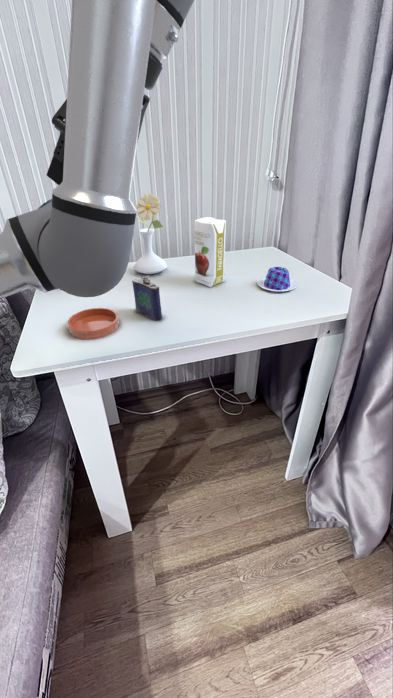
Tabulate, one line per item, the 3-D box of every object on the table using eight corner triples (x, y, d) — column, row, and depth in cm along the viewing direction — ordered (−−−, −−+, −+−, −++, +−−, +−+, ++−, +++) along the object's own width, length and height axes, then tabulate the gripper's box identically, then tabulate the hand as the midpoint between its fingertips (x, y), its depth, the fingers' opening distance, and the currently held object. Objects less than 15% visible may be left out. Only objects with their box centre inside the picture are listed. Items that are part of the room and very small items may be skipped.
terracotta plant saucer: (95, 344, 74) (93, 336, 73) (59, 331, 79) (57, 323, 78) (128, 321, 83) (127, 314, 82) (94, 311, 88) (93, 304, 87)
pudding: (304, 288, 98) (307, 271, 96) (274, 296, 94) (276, 279, 91) (278, 275, 107) (280, 260, 104) (249, 283, 102) (250, 267, 100)
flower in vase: (127, 271, 113) (116, 193, 98) (152, 263, 119) (145, 188, 105) (152, 280, 105) (144, 197, 91) (177, 271, 112) (173, 192, 98)
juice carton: (208, 275, 109) (208, 215, 98) (227, 282, 103) (229, 219, 93) (191, 281, 104) (190, 219, 94) (211, 289, 99) (211, 224, 88)
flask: (134, 311, 88) (129, 273, 82) (142, 307, 89) (138, 270, 83) (157, 322, 82) (153, 282, 76) (165, 317, 84) (162, 279, 78)
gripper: (118, 15, 34) (49, 196, 44) (189, 88, 56) (131, 198, 66) (61, -33, 34) (5, 160, 44) (155, 59, 55) (103, 174, 66)
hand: (81, 183), depth 55 cm, fingers open, 13 cm apart
